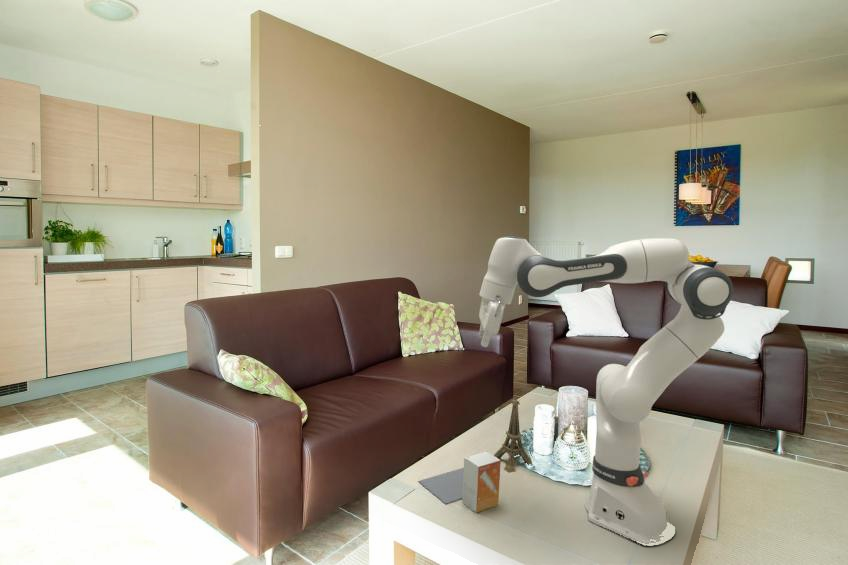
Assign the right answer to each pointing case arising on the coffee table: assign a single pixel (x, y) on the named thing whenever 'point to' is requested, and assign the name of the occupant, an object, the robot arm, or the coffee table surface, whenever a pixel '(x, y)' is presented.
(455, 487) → the slate mat
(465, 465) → the small box
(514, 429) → the eiffel tower
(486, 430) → the coffee table surface
